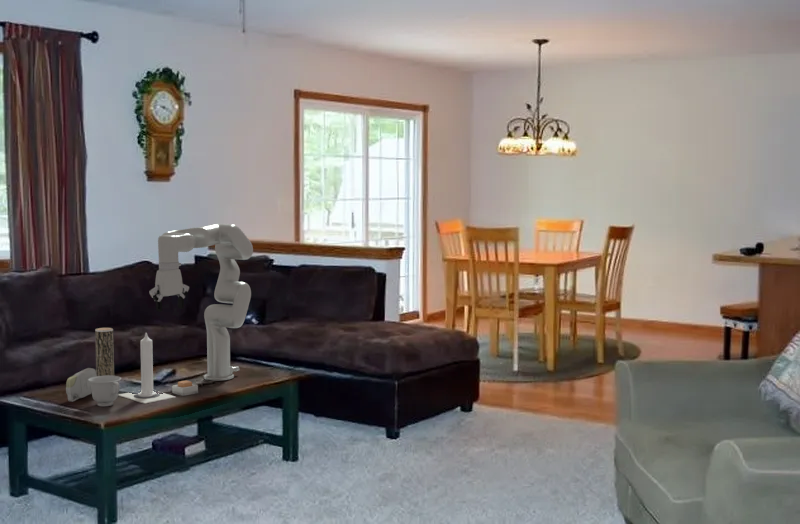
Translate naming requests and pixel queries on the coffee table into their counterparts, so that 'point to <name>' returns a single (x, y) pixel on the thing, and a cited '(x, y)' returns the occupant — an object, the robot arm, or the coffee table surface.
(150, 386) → the candle
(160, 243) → the robot arm
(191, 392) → the button housing
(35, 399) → the coffee table surface
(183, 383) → the button
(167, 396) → the paper sheet
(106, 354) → the wooden log
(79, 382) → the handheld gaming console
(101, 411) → the coffee table surface
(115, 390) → the teacup
